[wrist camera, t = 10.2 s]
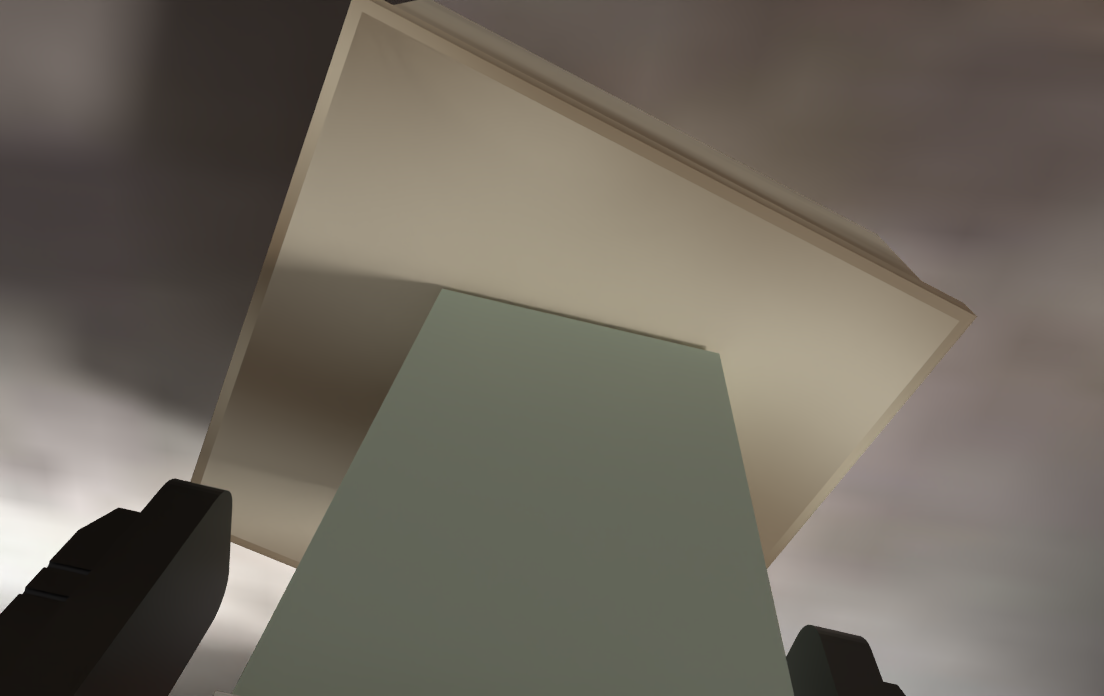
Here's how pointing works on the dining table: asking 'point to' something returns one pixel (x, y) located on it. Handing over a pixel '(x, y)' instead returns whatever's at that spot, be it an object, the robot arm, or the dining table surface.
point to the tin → (534, 528)
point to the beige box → (547, 271)
